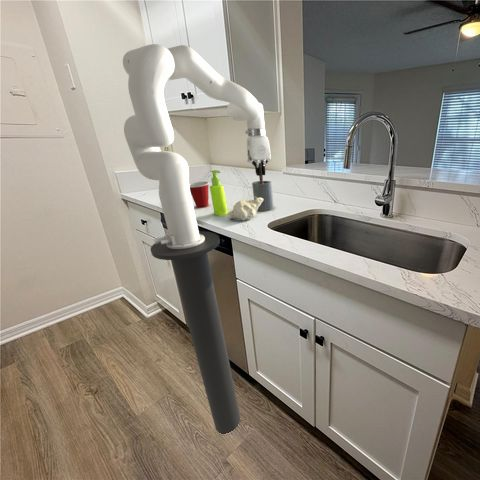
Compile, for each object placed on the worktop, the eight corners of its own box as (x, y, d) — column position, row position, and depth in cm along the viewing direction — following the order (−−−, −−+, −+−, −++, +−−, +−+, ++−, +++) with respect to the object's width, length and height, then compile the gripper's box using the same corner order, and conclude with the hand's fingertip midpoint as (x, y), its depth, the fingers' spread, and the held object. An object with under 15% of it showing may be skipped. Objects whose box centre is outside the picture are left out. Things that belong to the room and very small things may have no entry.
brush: (262, 204, 125) (258, 163, 118) (257, 202, 128) (253, 163, 121) (269, 202, 128) (266, 163, 121) (264, 201, 131) (261, 162, 124)
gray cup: (261, 212, 124) (258, 184, 119) (251, 208, 130) (248, 182, 125) (277, 208, 129) (274, 182, 124) (266, 205, 135) (264, 180, 130)
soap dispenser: (219, 216, 118) (211, 171, 110) (212, 213, 122) (204, 170, 115) (231, 213, 122) (224, 170, 114) (223, 211, 126) (217, 169, 119)
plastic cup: (187, 206, 136) (182, 183, 131) (208, 202, 142) (204, 180, 138) (194, 210, 128) (189, 186, 124) (216, 206, 135) (212, 183, 130)
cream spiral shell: (229, 229, 108) (254, 207, 104) (219, 215, 109) (244, 192, 105) (249, 228, 123) (271, 208, 119) (240, 216, 124) (263, 196, 120)
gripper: (245, 133, 109) (250, 178, 116) (276, 133, 119) (279, 174, 126) (236, 133, 114) (241, 176, 121) (266, 133, 124) (270, 172, 131)
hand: (260, 175), depth 123 cm, fingers closed on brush
